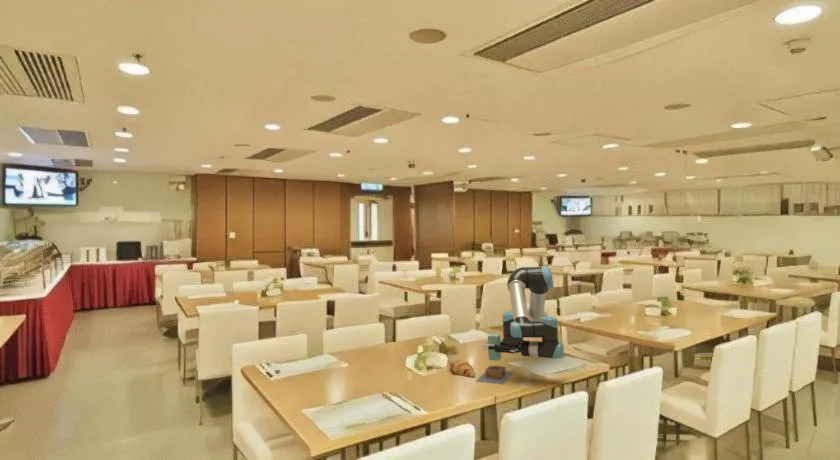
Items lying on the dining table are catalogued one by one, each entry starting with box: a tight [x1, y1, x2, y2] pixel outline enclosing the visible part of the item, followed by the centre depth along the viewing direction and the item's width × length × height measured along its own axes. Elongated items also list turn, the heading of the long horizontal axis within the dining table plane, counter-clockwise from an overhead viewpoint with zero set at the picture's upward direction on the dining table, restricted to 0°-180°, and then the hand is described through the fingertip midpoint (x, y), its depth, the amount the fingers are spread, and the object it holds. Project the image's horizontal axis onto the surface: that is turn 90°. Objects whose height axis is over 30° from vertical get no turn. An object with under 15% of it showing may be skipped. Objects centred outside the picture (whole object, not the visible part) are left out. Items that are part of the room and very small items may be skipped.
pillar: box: [487, 333, 502, 362], centre depth 233 cm, size 5×5×12 cm
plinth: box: [484, 365, 506, 379], centre depth 233 cm, size 8×8×4 cm
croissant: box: [449, 359, 476, 378], centre depth 241 cm, size 21×10×8 cm, turn 31°
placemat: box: [475, 369, 515, 385], centre depth 233 cm, size 22×14×1 cm, turn 154°
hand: (484, 345), depth 235 cm, fingers closed on pillar, 5 cm apart
